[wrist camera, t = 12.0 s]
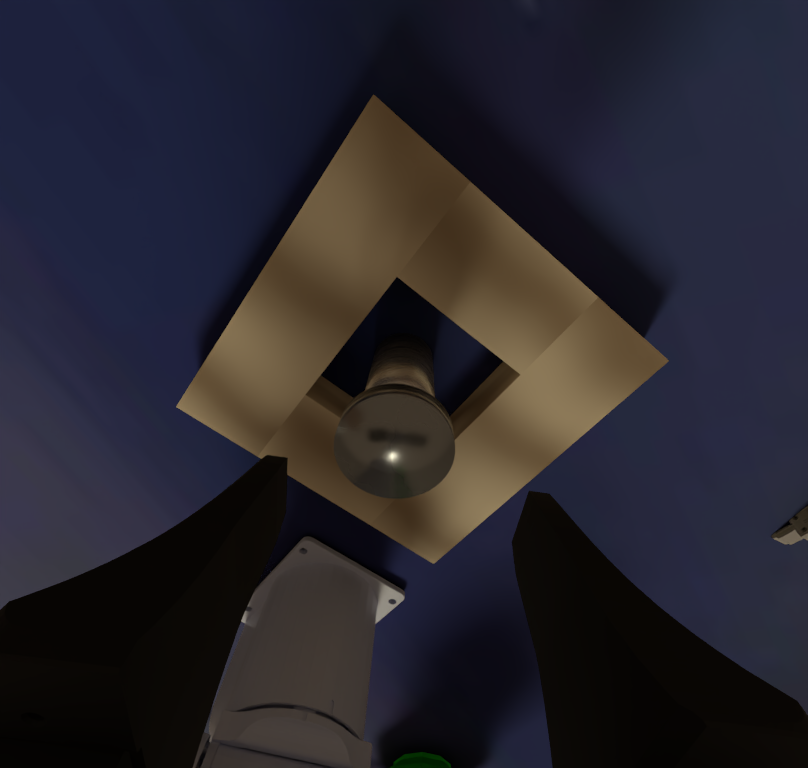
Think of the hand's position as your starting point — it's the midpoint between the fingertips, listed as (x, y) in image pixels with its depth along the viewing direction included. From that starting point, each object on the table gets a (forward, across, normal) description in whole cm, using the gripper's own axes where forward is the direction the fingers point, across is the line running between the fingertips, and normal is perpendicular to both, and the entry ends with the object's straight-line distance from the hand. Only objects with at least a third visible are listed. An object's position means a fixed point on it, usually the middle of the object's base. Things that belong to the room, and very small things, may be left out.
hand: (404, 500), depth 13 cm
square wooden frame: (+10, 0, 0) cm, 10 cm away
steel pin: (+10, 0, 0) cm, 10 cm away
